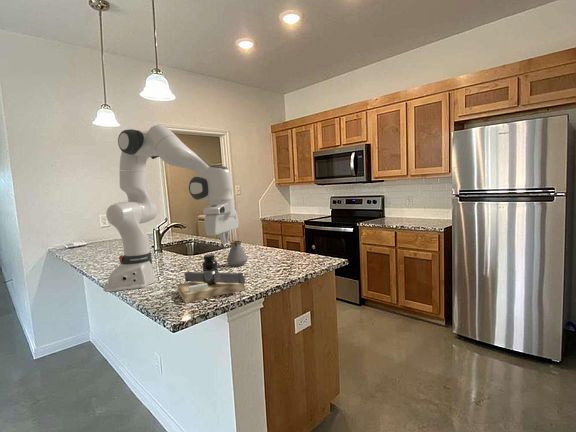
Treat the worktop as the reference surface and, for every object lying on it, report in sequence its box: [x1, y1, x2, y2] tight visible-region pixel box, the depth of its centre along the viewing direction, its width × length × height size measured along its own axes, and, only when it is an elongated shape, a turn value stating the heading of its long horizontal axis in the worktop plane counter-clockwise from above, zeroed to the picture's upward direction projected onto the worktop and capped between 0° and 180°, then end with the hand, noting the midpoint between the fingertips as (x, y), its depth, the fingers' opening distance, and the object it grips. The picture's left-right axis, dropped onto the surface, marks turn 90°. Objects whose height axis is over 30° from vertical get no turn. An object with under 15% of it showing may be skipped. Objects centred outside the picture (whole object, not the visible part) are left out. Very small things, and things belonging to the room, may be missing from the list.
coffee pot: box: [226, 240, 249, 267], centre depth 175 cm, size 21×12×15 cm, turn 9°
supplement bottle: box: [201, 254, 219, 273], centre depth 150 cm, size 7×7×12 cm
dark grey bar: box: [184, 270, 246, 285], centre depth 135 cm, size 28×5×5 cm, turn 73°
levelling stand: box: [177, 281, 246, 303], centre depth 135 cm, size 24×16×5 cm, turn 118°
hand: (224, 243), depth 126 cm, fingers closed
